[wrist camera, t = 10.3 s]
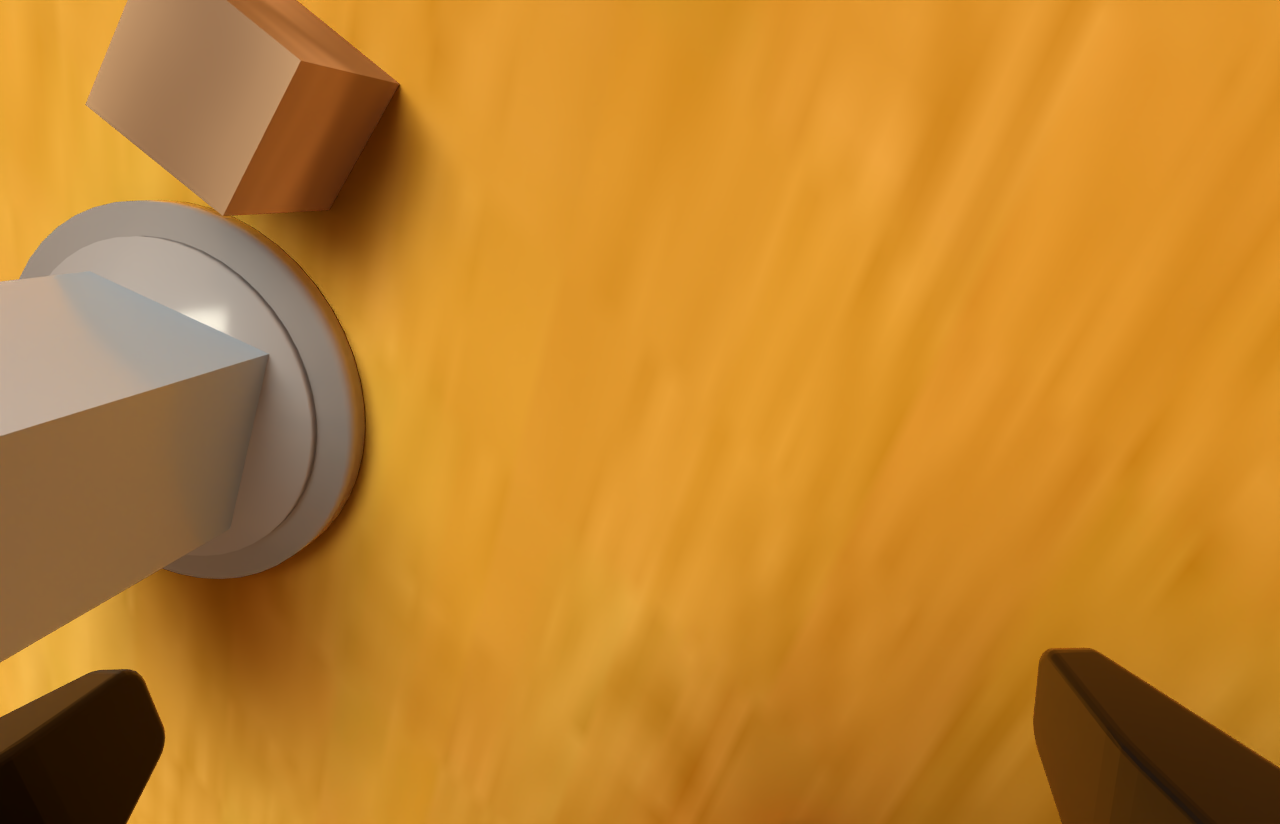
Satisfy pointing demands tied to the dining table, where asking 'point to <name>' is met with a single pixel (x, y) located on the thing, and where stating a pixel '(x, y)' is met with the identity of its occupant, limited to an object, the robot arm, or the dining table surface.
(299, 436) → the taupe domed disc
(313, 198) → the tan block
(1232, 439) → the dining table surface
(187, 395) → the tall pale pillar
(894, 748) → the dining table surface
